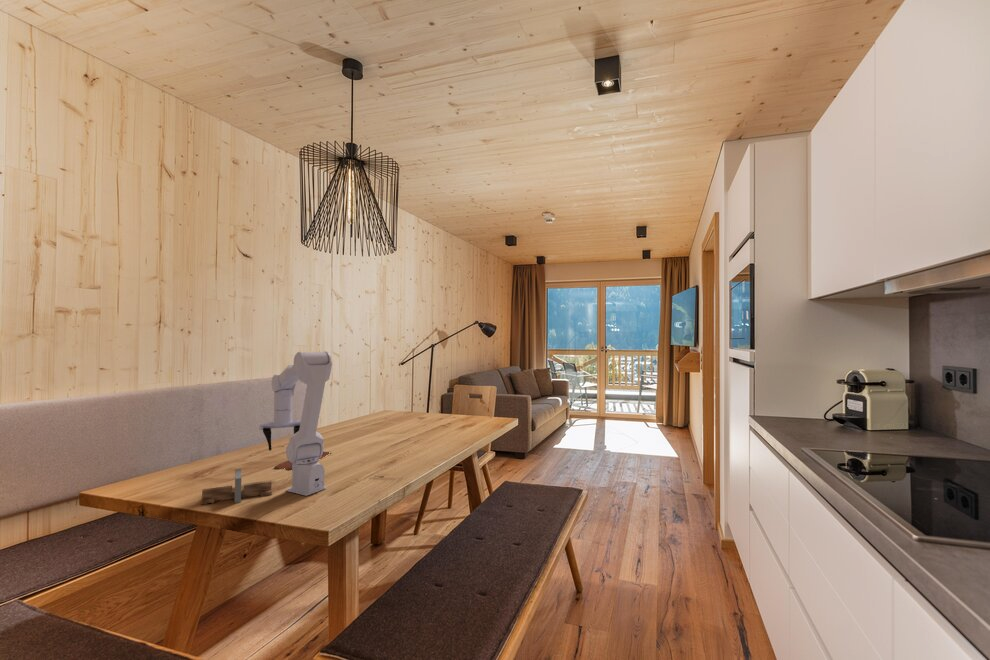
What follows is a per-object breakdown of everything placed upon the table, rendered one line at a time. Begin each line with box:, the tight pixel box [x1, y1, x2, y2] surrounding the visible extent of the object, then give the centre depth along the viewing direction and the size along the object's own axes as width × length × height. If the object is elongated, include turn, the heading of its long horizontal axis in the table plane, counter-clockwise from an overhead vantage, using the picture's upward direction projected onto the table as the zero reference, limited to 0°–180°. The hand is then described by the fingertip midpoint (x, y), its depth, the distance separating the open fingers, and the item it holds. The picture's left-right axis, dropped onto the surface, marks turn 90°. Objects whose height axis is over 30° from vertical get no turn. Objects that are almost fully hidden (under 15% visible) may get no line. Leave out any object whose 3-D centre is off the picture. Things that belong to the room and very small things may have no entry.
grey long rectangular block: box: [234, 468, 242, 504], centre depth 136 cm, size 10×2×7 cm, turn 30°
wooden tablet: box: [273, 451, 330, 471], centre depth 176 cm, size 27×10×2 cm, turn 168°
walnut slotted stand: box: [201, 479, 273, 505], centre depth 136 cm, size 18×5×4 cm, turn 119°
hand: (282, 448), depth 157 cm, fingers open, 7 cm apart
